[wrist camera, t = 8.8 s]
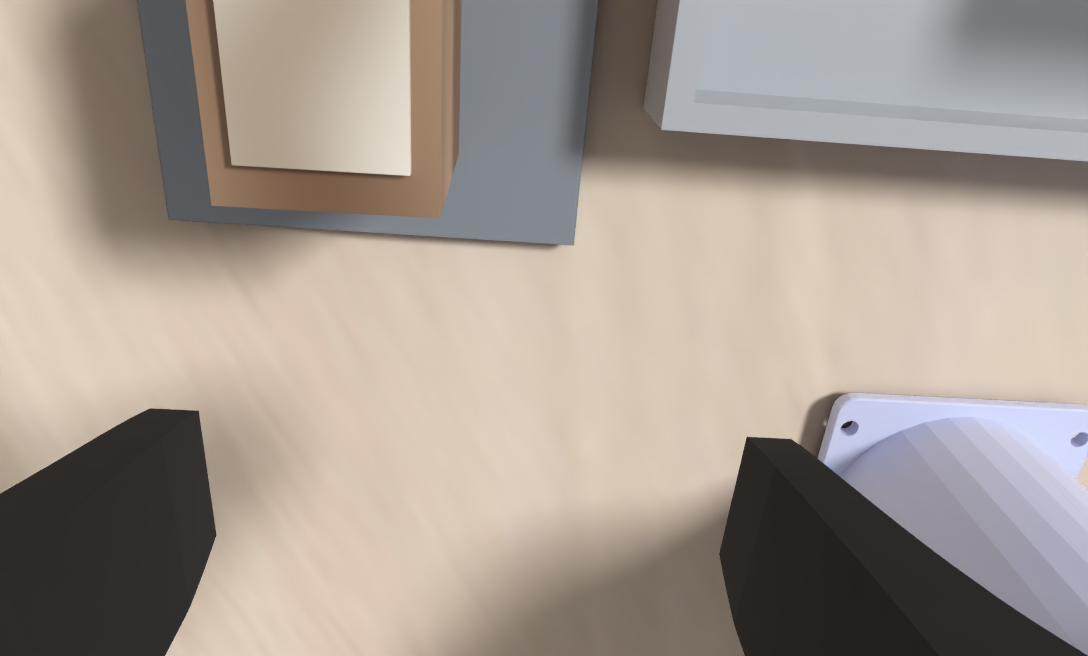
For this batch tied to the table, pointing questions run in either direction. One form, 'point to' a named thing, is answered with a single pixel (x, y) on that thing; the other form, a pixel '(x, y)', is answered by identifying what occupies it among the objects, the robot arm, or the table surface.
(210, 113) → the labelled block
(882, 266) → the table surface
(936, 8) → the grey bin
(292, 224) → the slate mat
